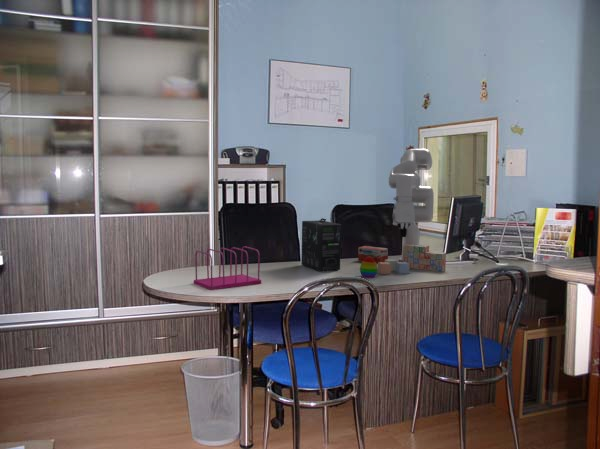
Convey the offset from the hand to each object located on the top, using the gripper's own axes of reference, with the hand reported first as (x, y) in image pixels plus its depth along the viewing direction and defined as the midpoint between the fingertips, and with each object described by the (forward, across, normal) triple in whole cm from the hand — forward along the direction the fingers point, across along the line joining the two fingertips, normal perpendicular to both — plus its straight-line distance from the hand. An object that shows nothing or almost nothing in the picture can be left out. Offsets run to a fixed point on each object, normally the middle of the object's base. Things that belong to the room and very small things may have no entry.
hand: (403, 236), depth 266 cm
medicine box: (+19, 0, +39) cm, 43 cm away
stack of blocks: (+19, +16, +9) cm, 27 cm away
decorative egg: (+18, -20, -6) cm, 28 cm away
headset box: (+19, -35, +25) cm, 47 cm away
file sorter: (+18, -87, -7) cm, 89 cm away
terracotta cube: (+18, -9, +1) cm, 20 cm away
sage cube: (+18, -2, +9) cm, 20 cm away
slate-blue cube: (+18, 0, 0) cm, 18 cm away
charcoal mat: (+18, -5, +5) cm, 20 cm away
